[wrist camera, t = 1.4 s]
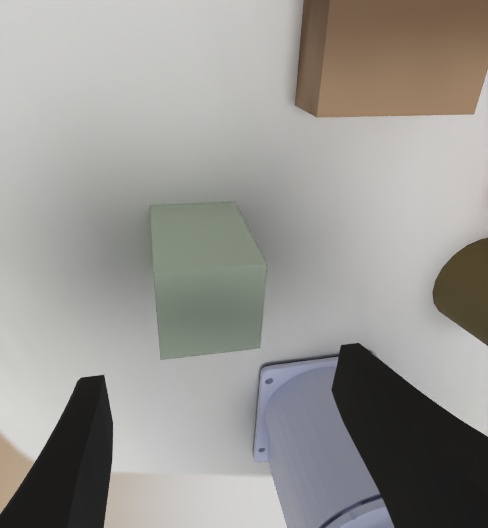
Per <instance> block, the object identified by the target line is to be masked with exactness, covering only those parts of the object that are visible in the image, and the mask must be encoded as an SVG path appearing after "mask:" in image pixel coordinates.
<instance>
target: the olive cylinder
mask: <svg viewBox="0 0 488 528" xmlns="http://www.w3.org/2000/svg"><path fill="white" fill-rule="evenodd" d="M433 299H434V304H435V305H436V307H437V309H438V310H439V311H440V312H441V313H443V314H444V315H445V316H447V317H448V318H450V319H451V320H452V321H454V322H455V323H457V324H458V325H459V326H461V327H462V328H464V329H465V330H466V331H468V332H469V333H471V334H472V335H473V336H475V337H476V338H478V339H479V340H480V341H482V342H483V343H485V344H486V345H487V346H488V238H486V239H481V240H479V241H477V242H475V243H472V244H470V245H468V246H466V247H465V248H464V249H462V250H461V251H459V252H458V253H457V254H455V255H454V256H453V257H452V258H451V259H450V261H449V262H448V263H447V264H446V265H445V266H444V267H443V269H442V270H441V272H440V274H439V276H438V277H437V279H436V282H435V286H434V290H433Z"/></svg>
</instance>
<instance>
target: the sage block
mask: <svg viewBox="0 0 488 528" xmlns="http://www.w3.org/2000/svg"><path fill="white" fill-rule="evenodd" d="M150 218H151V236H152V255H153V274H154V286H155V298H156V310H157V322H158V334H159V346H160V358H161V360H165V359H173V358H181V357H190V356H198V355H206V354H215V353H223V352H231V351H240V350H248V349H256V348H260V341H261V330H262V318H263V306H264V294H265V282H266V270H267V263H266V261H265V259H264V258H263V256H262V254H261V252H260V250H259V248H258V246H257V244H256V242H255V240H254V238H253V236H252V234H251V233H250V231H249V229H248V227H247V225H246V223H245V221H244V219H243V217H242V215H241V213H240V211H239V209H238V208H237V206H236V204H235V202H218V203H195V204H171V205H150Z"/></svg>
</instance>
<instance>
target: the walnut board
mask: <svg viewBox="0 0 488 528" xmlns="http://www.w3.org/2000/svg"><path fill="white" fill-rule="evenodd" d="M487 69H488V0H304V4H303V16H302V28H301V40H300V52H299V64H298V75H297V87H296V99H295V105H296V106H297V107H299V108H301V109H303V110H305V111H306V112H308V113H310V114H312V115H314V116H315V117H359V116H411V115H462V114H474V112H475V109H476V106H477V103H478V99H479V96H480V93H481V89H482V86H483V83H484V79H485V76H486V73H487Z"/></svg>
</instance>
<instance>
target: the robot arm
mask: <svg viewBox="0 0 488 528" xmlns="http://www.w3.org/2000/svg"><path fill="white" fill-rule="evenodd" d="M269 378H270V379H269ZM112 448H113V421H112V415H111V410H110V404H109V399H108V394H107V388H106V383H105V377H104V375H99V376H91V377H83V378H80V379H79V380H78V381H77V384H76V386H75V389H74V391H73V393H72V395H71V397H70V400H69V402H68V404H67V406H66V408H65V410H64V412H63V414H62V416H61V418H60V419H59V421H58V423H57V425H56V427H55V429H54V430H53V432H52V434H51V436H50V438H49V439H48V441H47V443H46V445H45V447H44V448H43V450H42V452H41V453H40V455H39V457H38V458H37V460H36V461H35V463H34V465H33V466H32V468H31V469H30V471H29V473H28V474H27V476H26V477H25V479H24V481H23V482H22V484H21V485H20V487H19V488H18V490H17V491H16V492H15V494H14V496H13V497H12V498H11V500H10V501H9V503H8V504H7V506H6V507H5V508H4V510H3V511H2V513H1V514H0V528H104V520H105V512H106V505H107V497H108V488H109V481H110V473H111V465H112ZM253 457H254V461H256V462H265V461H268V463H269V466H270V470H271V473H272V476H273V480H274V483H275V486H276V490H277V494H278V497H279V500H280V504H281V507H282V511H283V514H284V518H285V521H286V524H287V528H488V437H487V436H485V435H484V434H482V433H481V432H479V431H477V430H476V429H474V428H473V427H471V426H469V425H468V424H466V423H464V422H463V421H461V420H460V419H458V418H457V417H455V416H454V415H452V414H451V413H449V412H448V411H446V410H445V409H444V408H442V407H441V406H439V405H438V404H436V403H435V402H434V401H432V400H431V399H429V398H428V397H427V396H425V395H424V394H423V393H421V392H420V391H419V390H417V389H416V388H415V387H413V386H412V385H411V384H410V383H408V382H407V381H406V380H404V379H403V378H402V377H401V376H399V375H398V374H397V373H396V372H394V371H393V370H392V369H391V368H389V367H388V366H387V365H386V364H384V363H383V362H382V361H381V360H380V359H378V358H377V356H376V355H375V354H374V353H371V352H370V351H368V350H367V349H366V348H365V347H363V346H362V345H361V344H359V343H355V344H347V345H341V348H340V353H339V357H332V358H324V359H317V360H309V361H302V362H294V363H286V364H279V365H271V366H266V367H264V368H263V369H262V370H261V374H260V385H259V397H258V408H257V419H256V430H255V441H254V452H253Z"/></svg>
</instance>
